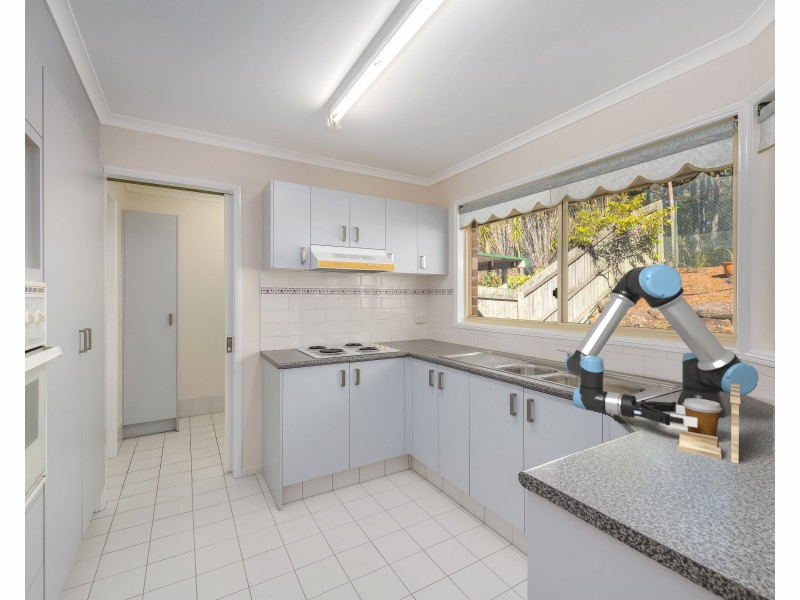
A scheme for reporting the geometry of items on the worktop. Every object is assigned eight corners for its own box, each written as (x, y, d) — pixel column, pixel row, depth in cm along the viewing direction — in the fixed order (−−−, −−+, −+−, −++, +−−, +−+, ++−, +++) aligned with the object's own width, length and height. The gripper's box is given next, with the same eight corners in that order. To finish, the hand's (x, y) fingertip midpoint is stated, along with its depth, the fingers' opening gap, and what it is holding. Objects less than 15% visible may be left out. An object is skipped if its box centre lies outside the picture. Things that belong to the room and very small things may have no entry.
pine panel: (730, 437, 122) (731, 383, 122) (739, 439, 120) (739, 384, 120) (729, 462, 103) (730, 398, 103) (739, 464, 102) (740, 399, 102)
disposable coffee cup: (729, 447, 113) (729, 407, 113) (692, 444, 115) (692, 405, 115) (710, 436, 123) (710, 398, 123) (676, 434, 125) (676, 397, 125)
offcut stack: (678, 445, 116) (679, 429, 116) (722, 454, 109) (722, 437, 109) (676, 450, 111) (676, 434, 111) (721, 460, 105) (721, 443, 105)
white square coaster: (664, 417, 142) (664, 414, 142) (705, 424, 134) (705, 421, 134) (659, 425, 133) (659, 422, 133) (703, 433, 125) (703, 430, 125)
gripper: (629, 408, 143) (702, 420, 129) (612, 424, 124) (695, 440, 110) (629, 387, 143) (702, 397, 129) (612, 401, 124) (695, 414, 110)
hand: (699, 417), depth 119 cm, fingers open, 13 cm apart
